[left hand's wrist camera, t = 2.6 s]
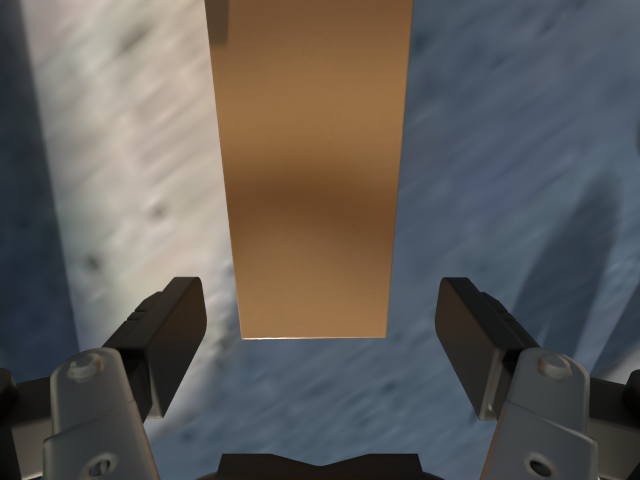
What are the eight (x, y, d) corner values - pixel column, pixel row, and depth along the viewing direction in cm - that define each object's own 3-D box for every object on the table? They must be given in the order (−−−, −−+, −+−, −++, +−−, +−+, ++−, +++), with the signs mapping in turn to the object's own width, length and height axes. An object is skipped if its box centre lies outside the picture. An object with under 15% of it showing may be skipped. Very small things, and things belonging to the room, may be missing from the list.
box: (357, 244, 24) (386, 337, 15) (270, 245, 24) (241, 339, 14) (373, -165, 16) (460, -557, 7) (244, -166, 16) (141, -564, 7)
